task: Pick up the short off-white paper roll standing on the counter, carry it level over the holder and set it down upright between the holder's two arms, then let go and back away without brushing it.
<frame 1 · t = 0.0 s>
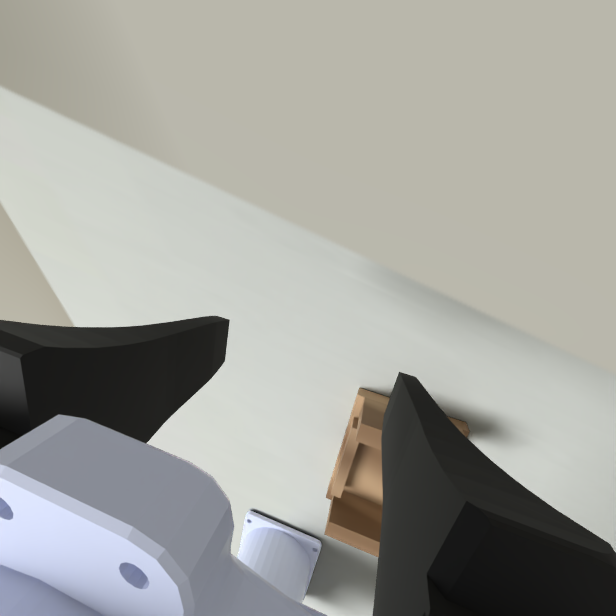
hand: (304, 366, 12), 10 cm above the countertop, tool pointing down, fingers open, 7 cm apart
holder: (389, 458, 24), on the countertop
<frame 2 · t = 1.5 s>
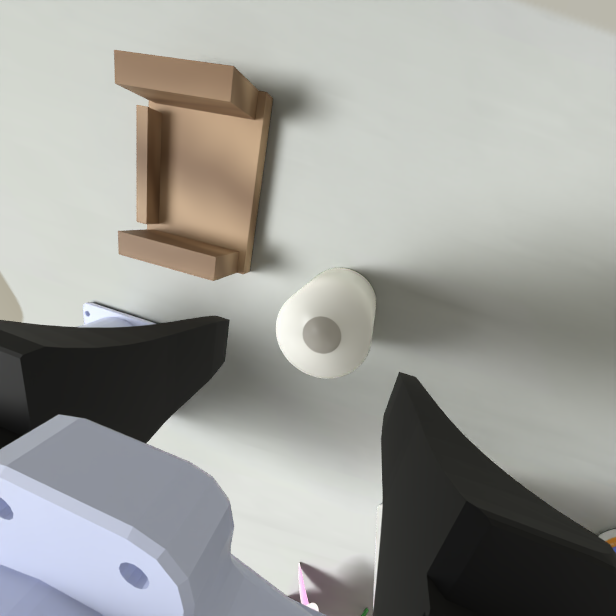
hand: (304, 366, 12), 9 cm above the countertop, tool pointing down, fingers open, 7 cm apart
paper roll: (339, 303, 21), on the countertop
milk carton: (439, 513, 24), on the countertop
holder: (207, 181, 20), on the countertop
lily: (326, 589, 30), on the countertop
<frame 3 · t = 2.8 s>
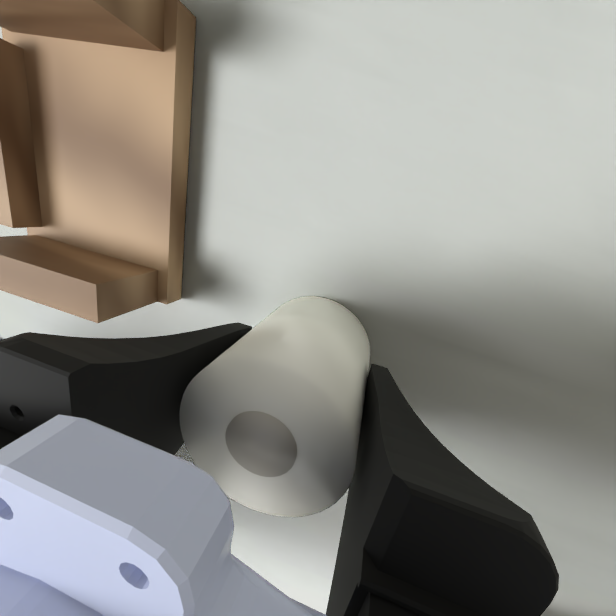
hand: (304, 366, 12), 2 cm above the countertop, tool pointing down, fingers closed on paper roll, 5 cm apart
paper roll: (314, 349, 13), on the countertop, touching gripper
holder: (110, 162, 13), on the countertop
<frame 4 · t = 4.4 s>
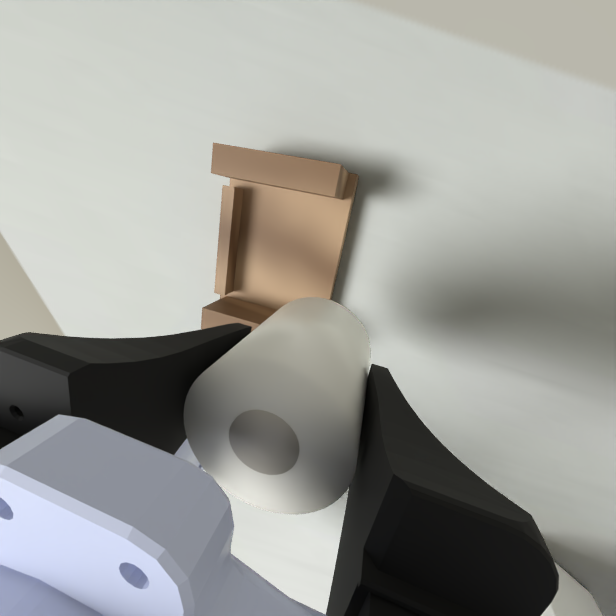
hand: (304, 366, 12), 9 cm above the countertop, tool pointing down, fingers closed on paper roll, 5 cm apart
paper roll: (315, 349, 13), point 8 cm above the countertop, touching gripper
milk carton: (511, 572, 24), on the countertop
holder: (283, 251, 20), on the countertop
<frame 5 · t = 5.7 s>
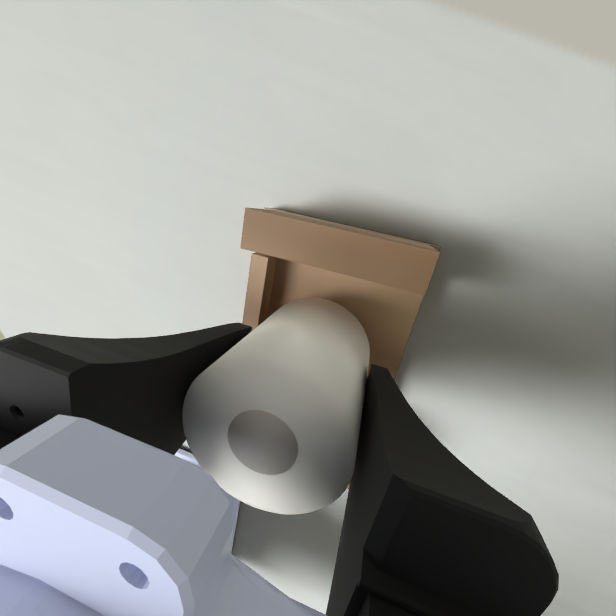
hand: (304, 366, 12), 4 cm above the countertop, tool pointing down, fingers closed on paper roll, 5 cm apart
paper roll: (314, 349, 13), point 2 cm above the countertop, touching gripper
holder: (325, 329, 16), on the countertop
when the fingers open (3 cm above the countertop, at t = 6.4 s): paper roll stays where it is, resting on holder.
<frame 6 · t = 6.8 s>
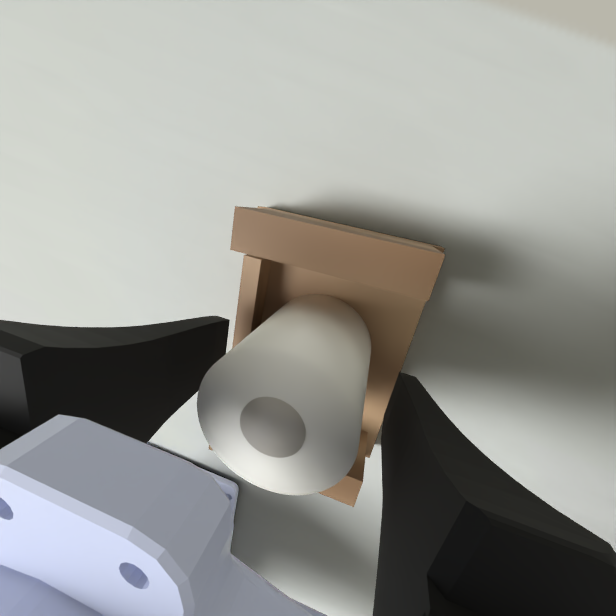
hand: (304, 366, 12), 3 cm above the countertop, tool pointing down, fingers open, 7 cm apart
paper roll: (318, 344, 14), point 1 cm above the countertop, touching holder
holder: (322, 334, 15), on the countertop
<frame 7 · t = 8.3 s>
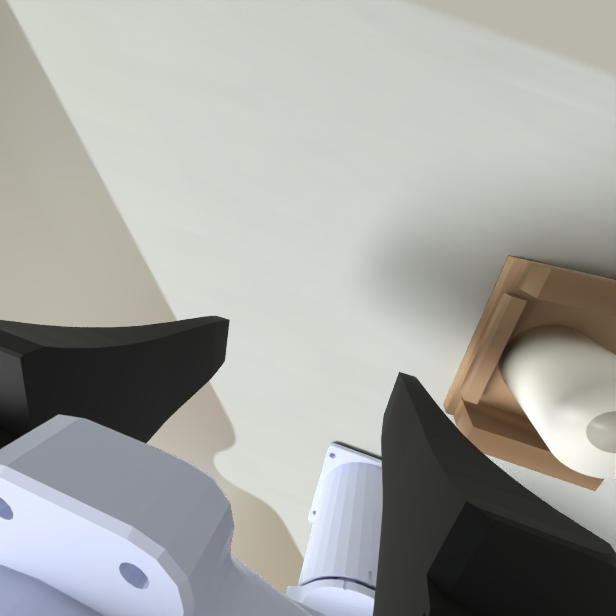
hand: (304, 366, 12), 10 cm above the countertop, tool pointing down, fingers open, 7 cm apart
paper roll: (546, 363, 18), point 1 cm above the countertop, touching holder
holder: (538, 355, 19), on the countertop
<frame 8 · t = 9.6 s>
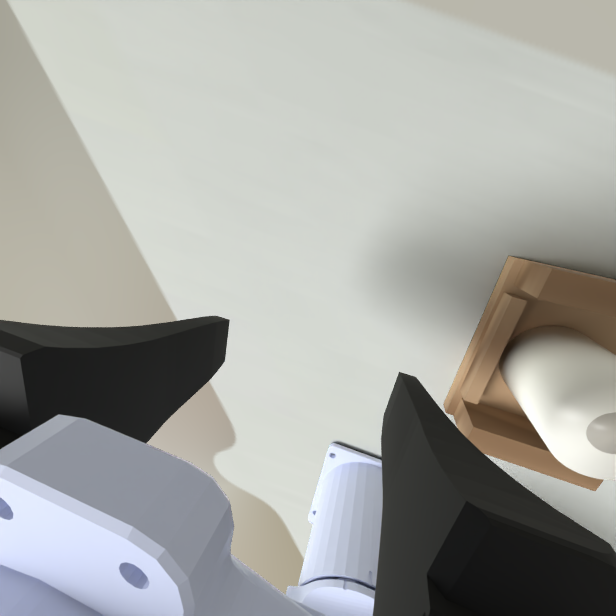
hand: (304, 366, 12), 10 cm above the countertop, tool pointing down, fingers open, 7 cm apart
paper roll: (546, 364, 18), point 1 cm above the countertop, touching holder
holder: (538, 355, 19), on the countertop
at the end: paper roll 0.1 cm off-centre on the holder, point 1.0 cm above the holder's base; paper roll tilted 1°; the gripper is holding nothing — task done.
